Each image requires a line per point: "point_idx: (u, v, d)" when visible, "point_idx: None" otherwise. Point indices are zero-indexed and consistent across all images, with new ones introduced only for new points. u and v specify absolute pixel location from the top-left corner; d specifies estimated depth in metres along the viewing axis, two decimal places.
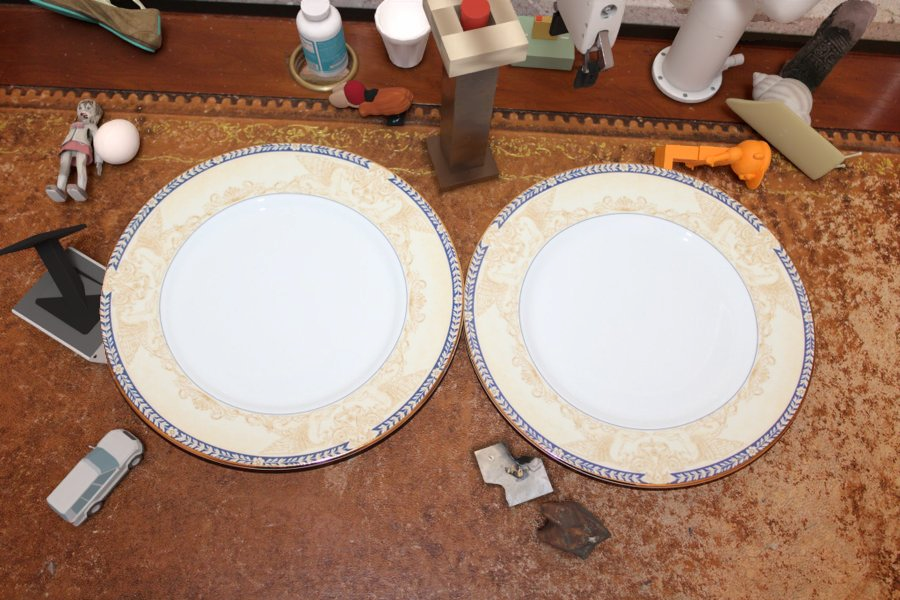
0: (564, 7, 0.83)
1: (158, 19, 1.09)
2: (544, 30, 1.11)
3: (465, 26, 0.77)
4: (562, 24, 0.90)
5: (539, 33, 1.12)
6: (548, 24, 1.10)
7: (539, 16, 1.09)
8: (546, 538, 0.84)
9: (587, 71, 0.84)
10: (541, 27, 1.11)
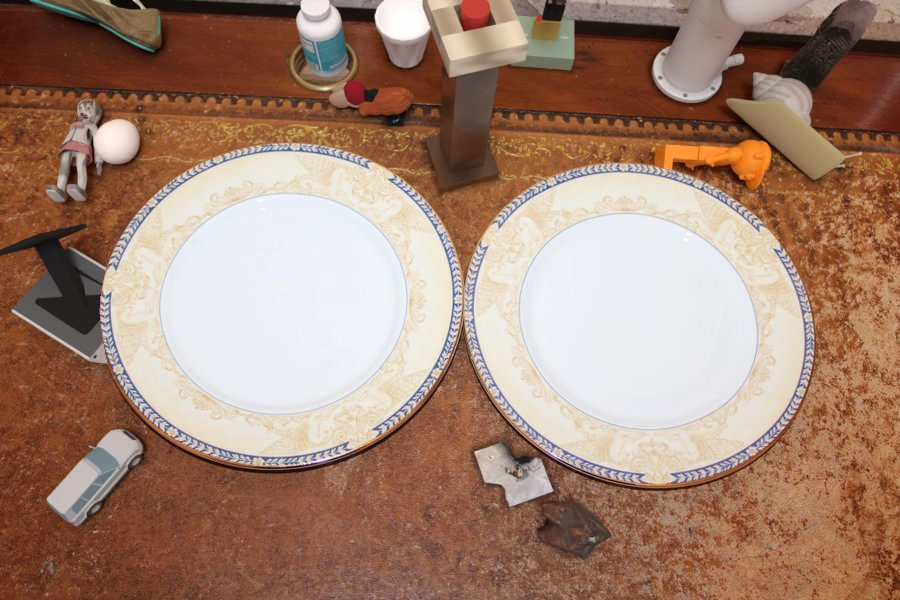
0: None
1: (158, 19, 1.09)
2: (544, 30, 1.11)
3: (465, 26, 0.77)
4: None
5: (539, 33, 1.12)
6: (548, 24, 1.10)
7: (539, 16, 1.09)
8: (546, 538, 0.84)
9: (550, 2, 0.98)
10: (541, 27, 1.11)
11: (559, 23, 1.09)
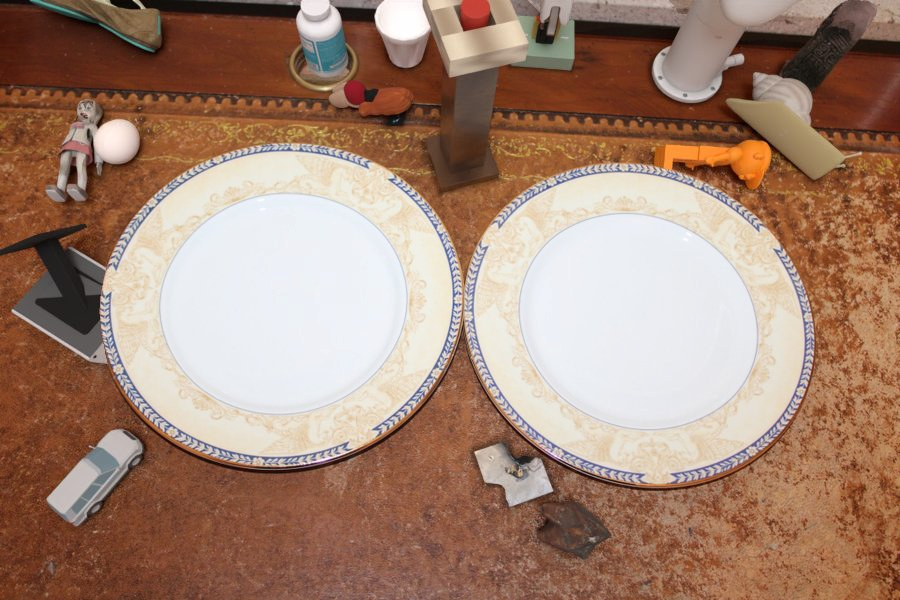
0: None
1: (158, 19, 1.09)
2: None
3: (465, 26, 0.77)
4: None
5: None
6: None
7: (539, 16, 1.09)
8: (546, 538, 0.84)
9: (541, 28, 1.09)
10: None
11: (559, 23, 1.09)
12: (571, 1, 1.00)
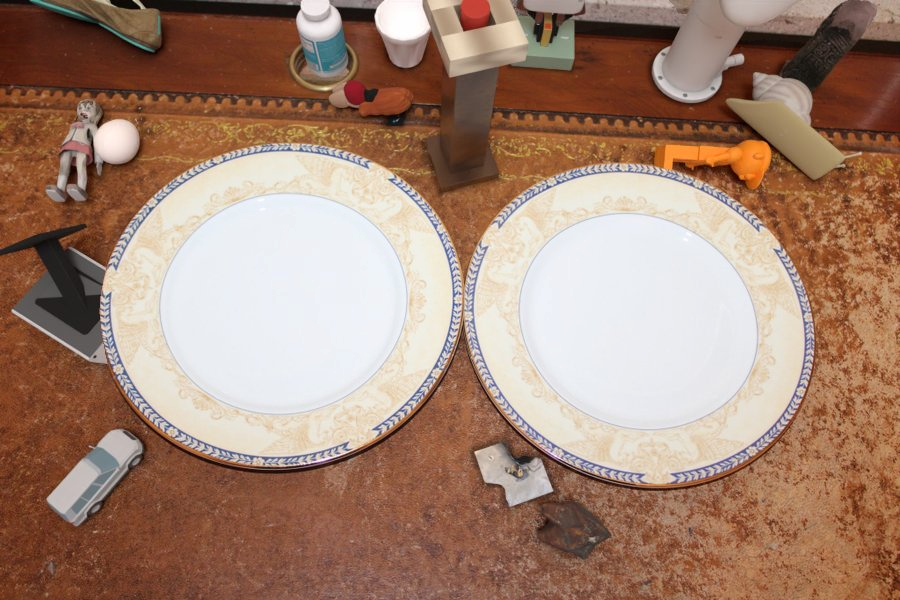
0: (543, 2, 1.03)
1: (158, 19, 1.09)
2: None
3: (465, 26, 0.77)
4: None
5: None
6: (551, 21, 1.10)
7: (546, 25, 1.09)
8: (546, 538, 0.84)
9: (560, 24, 1.09)
10: None
11: None
12: None
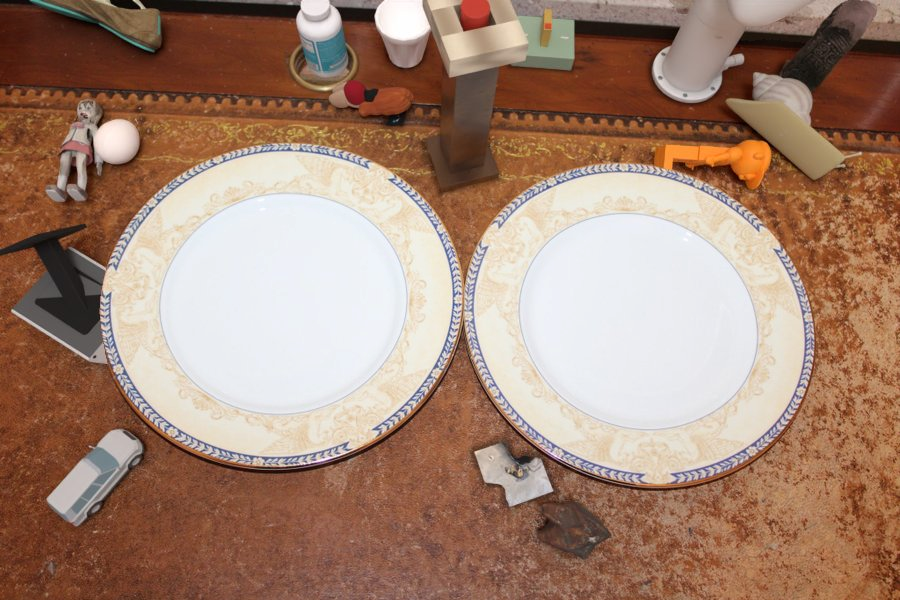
0: None
1: (158, 19, 1.09)
2: None
3: (465, 26, 0.77)
4: None
5: None
6: (551, 21, 1.10)
7: (546, 25, 1.09)
8: (546, 538, 0.84)
9: None
10: None
11: (551, 11, 1.10)
12: None
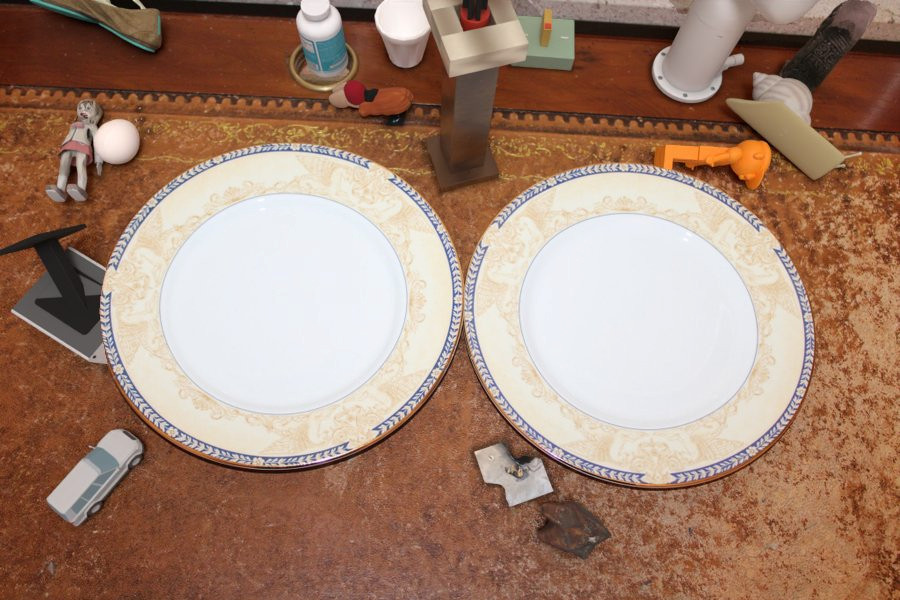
0: None
1: (158, 19, 1.09)
2: None
3: None
4: None
5: None
6: (551, 21, 1.10)
7: (546, 25, 1.09)
8: (546, 538, 0.84)
9: None
10: None
11: (551, 11, 1.10)
12: None
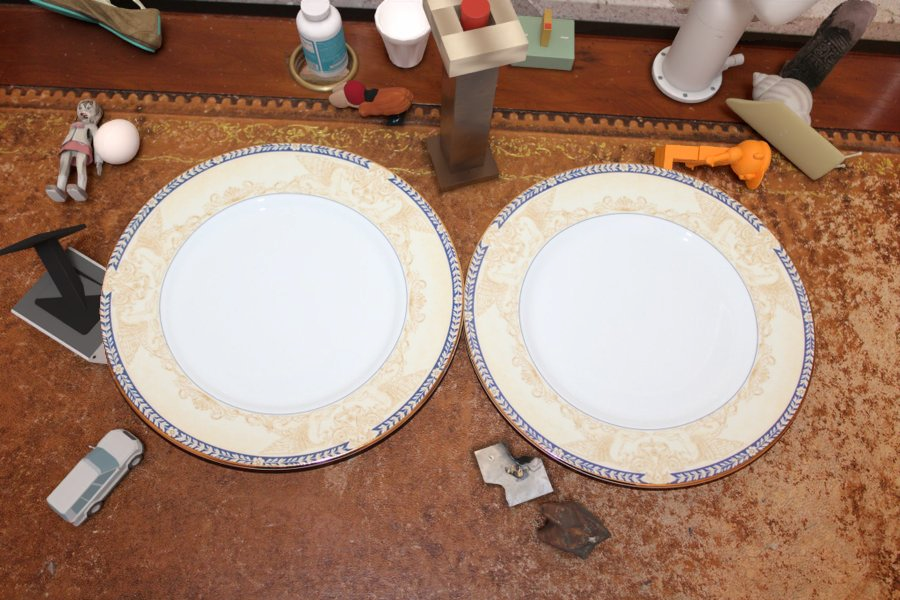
0: None
1: (158, 19, 1.09)
2: None
3: (465, 26, 0.77)
4: None
5: None
6: (551, 21, 1.10)
7: (546, 25, 1.09)
8: (546, 538, 0.84)
9: None
10: None
11: (551, 11, 1.10)
12: None
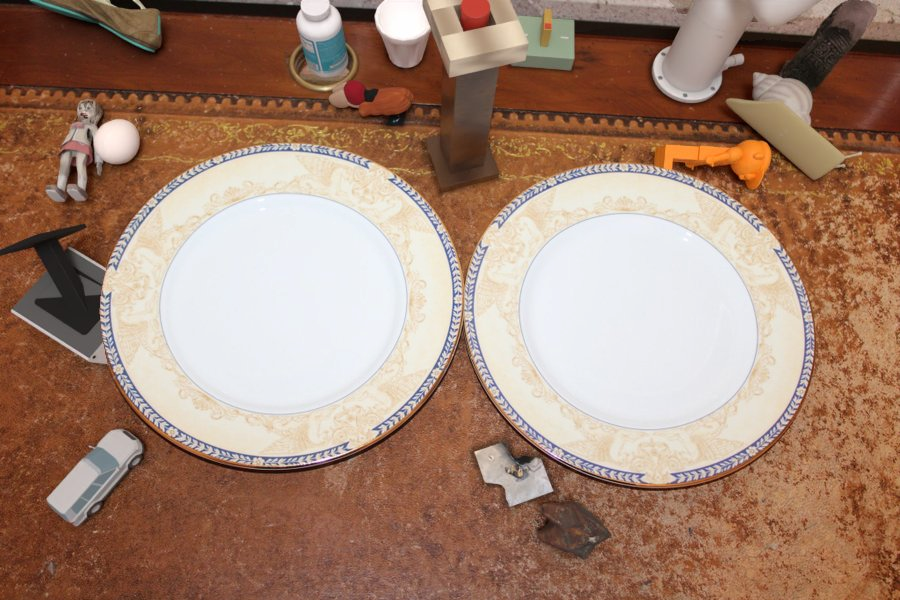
0: None
1: (158, 19, 1.09)
2: None
3: (465, 26, 0.77)
4: None
5: None
6: (551, 21, 1.10)
7: (546, 25, 1.09)
8: (546, 538, 0.84)
9: None
10: None
11: (551, 11, 1.10)
12: None
